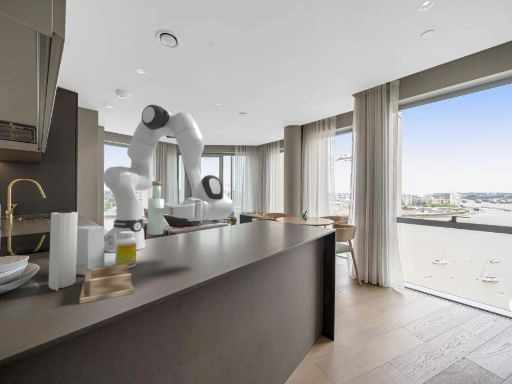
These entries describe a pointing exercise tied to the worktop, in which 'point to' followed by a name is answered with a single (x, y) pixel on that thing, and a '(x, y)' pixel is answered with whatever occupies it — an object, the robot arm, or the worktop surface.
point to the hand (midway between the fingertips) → (153, 209)
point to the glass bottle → (154, 218)
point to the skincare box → (89, 248)
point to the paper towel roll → (63, 249)
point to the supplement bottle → (126, 249)
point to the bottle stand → (106, 283)
